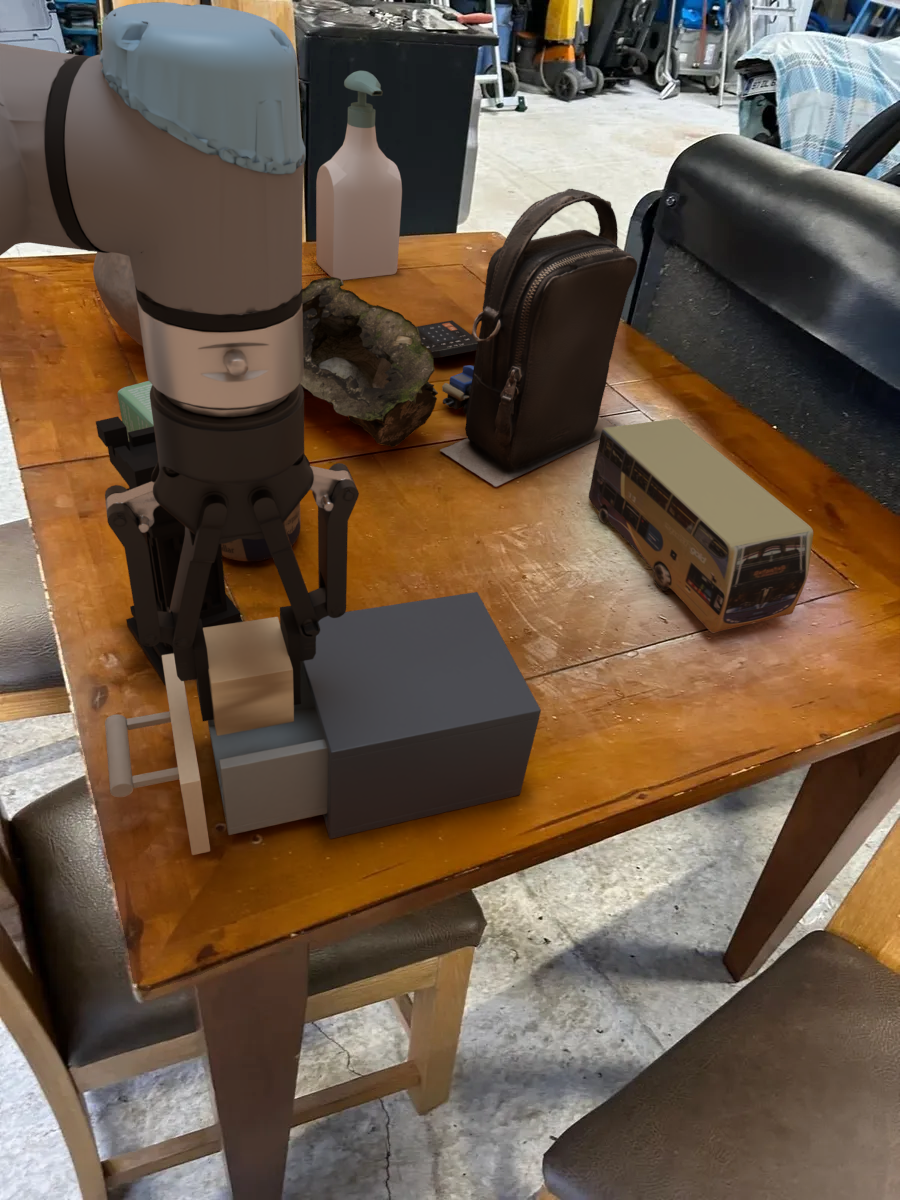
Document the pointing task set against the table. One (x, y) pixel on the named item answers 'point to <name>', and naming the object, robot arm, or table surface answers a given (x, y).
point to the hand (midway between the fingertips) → (249, 697)
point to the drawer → (232, 765)
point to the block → (249, 675)
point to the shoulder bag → (544, 342)
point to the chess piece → (162, 536)
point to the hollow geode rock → (365, 362)
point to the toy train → (459, 389)
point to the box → (136, 406)
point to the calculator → (446, 339)
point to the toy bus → (701, 523)
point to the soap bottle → (358, 197)
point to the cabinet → (418, 712)
